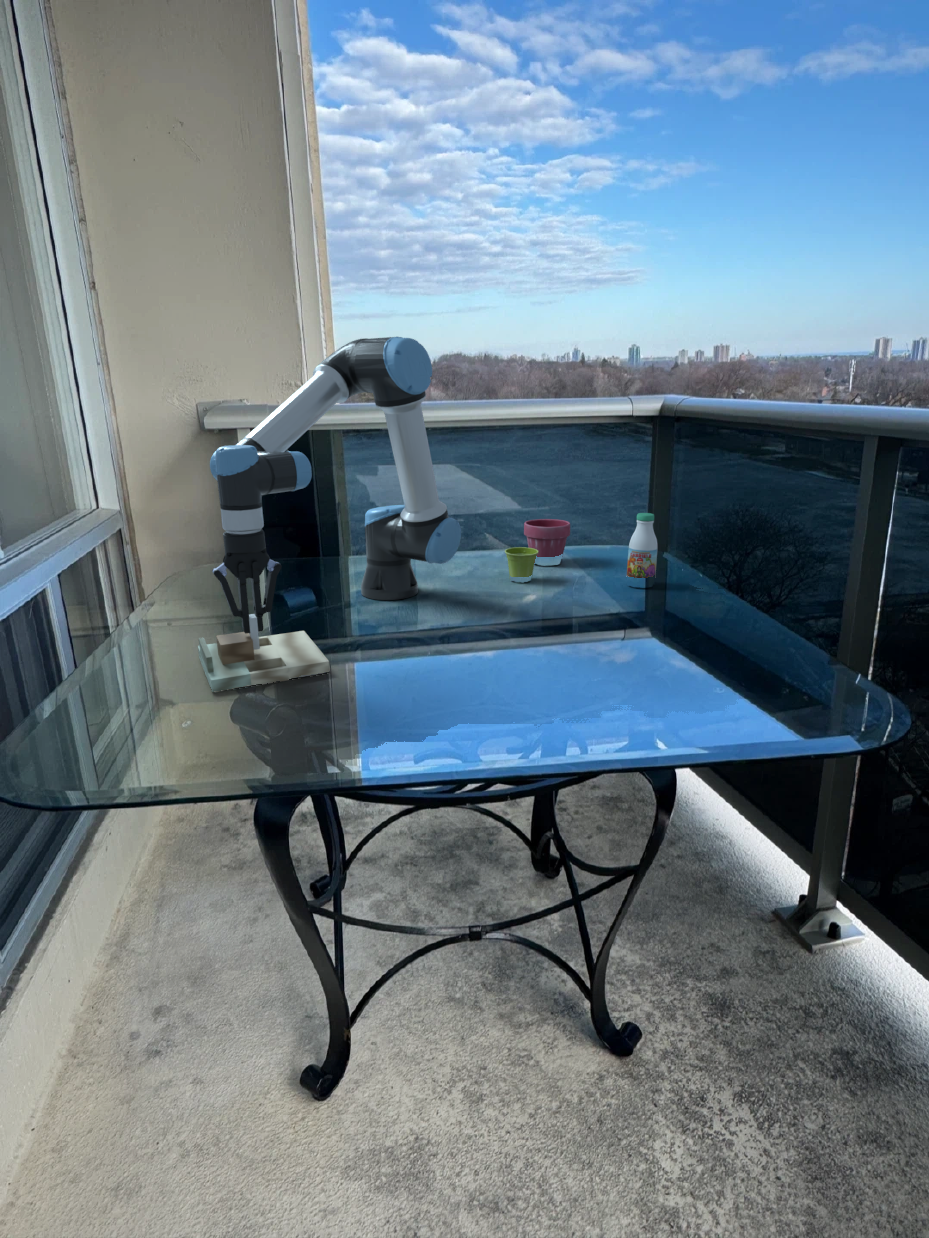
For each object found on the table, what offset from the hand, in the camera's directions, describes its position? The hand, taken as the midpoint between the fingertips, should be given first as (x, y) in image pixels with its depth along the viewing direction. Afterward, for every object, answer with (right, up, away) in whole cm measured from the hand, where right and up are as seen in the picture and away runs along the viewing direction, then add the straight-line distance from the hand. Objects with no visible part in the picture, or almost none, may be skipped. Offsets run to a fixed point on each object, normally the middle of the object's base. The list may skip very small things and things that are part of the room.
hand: (254, 647), depth 146 cm
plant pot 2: (+67, +23, +82) cm, 108 cm away
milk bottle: (+90, +15, +58) cm, 108 cm away
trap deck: (+1, -4, +2) cm, 4 cm away
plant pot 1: (+58, +16, +63) cm, 87 cm away
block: (-3, -2, -1) cm, 4 cm away
